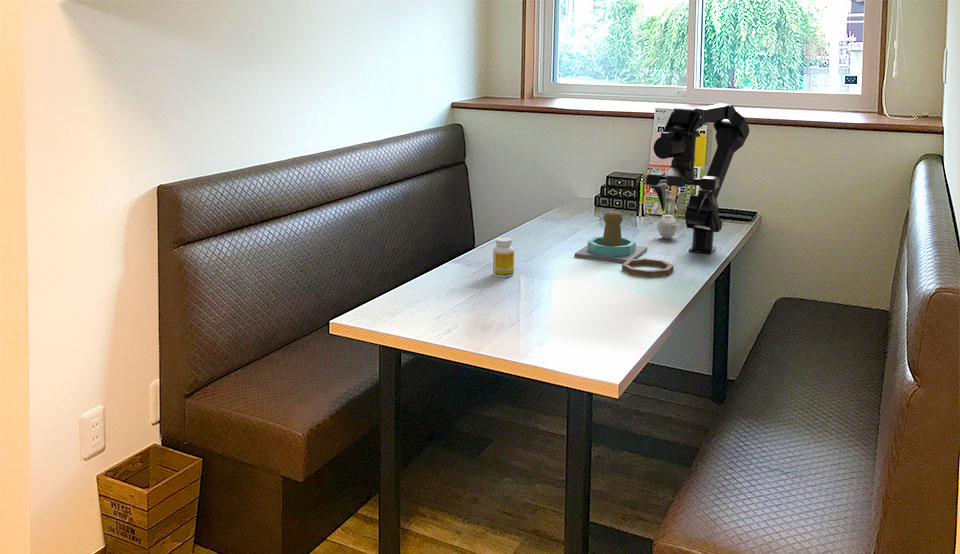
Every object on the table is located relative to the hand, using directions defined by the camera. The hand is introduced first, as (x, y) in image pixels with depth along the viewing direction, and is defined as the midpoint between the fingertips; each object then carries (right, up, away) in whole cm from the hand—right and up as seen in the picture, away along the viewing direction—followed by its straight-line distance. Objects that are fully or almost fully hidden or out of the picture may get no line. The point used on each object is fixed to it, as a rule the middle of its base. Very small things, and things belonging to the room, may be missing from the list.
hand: (680, 212), depth 244 cm
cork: (-17, -10, +9) cm, 22 cm away
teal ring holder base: (-17, -11, +9) cm, 22 cm away
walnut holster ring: (-10, -16, -7) cm, 20 cm away
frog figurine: (+2, -6, +26) cm, 27 cm away
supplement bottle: (-48, -17, -12) cm, 53 cm away
